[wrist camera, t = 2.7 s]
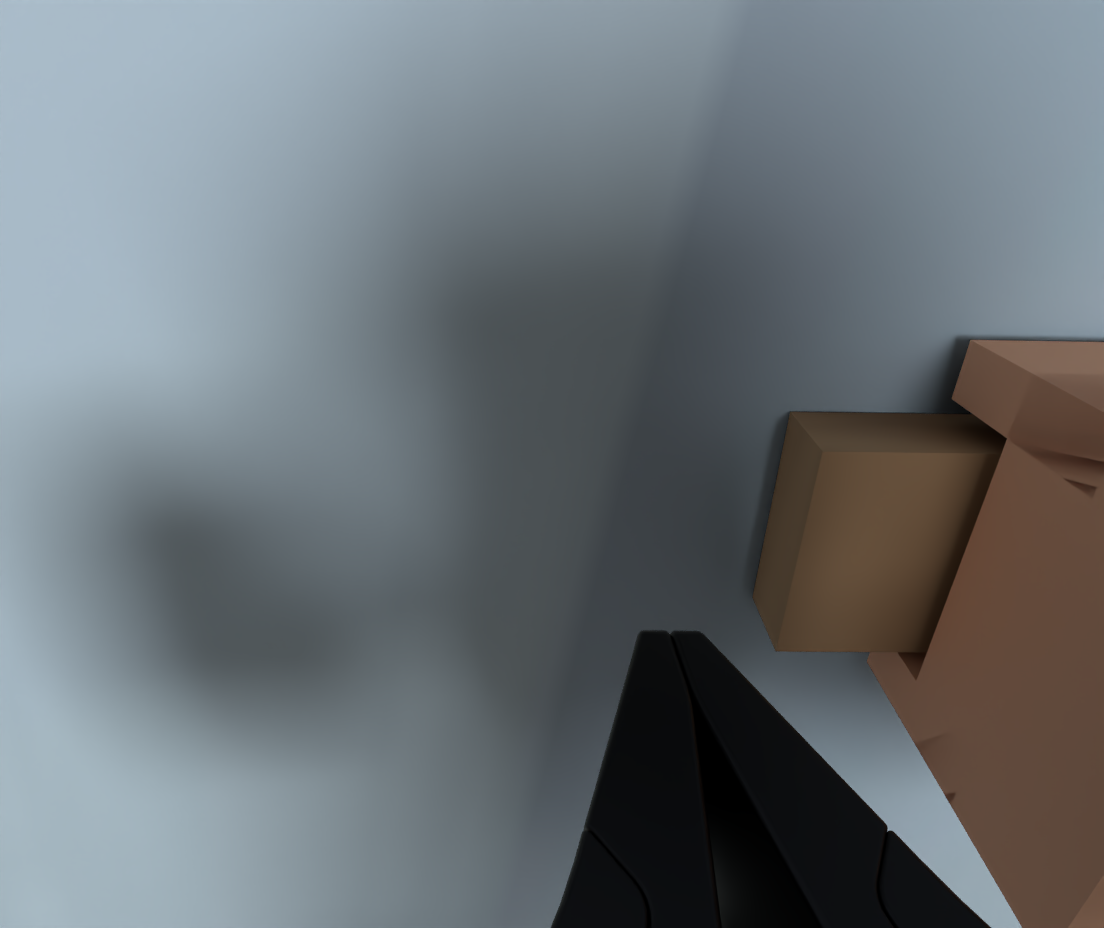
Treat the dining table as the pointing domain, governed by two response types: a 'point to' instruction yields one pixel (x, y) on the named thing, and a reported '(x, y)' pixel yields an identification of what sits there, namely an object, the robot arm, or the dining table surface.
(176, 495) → the dining table surface
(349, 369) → the dining table surface
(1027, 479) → the block
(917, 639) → the rail
